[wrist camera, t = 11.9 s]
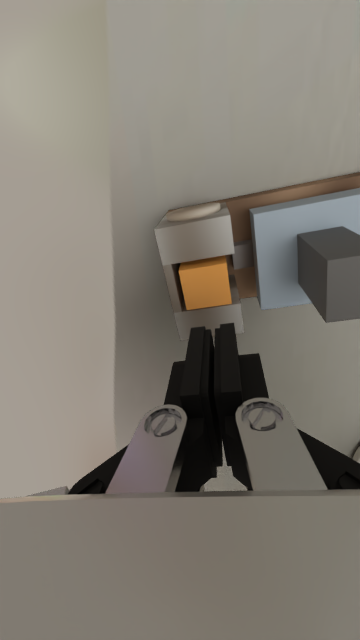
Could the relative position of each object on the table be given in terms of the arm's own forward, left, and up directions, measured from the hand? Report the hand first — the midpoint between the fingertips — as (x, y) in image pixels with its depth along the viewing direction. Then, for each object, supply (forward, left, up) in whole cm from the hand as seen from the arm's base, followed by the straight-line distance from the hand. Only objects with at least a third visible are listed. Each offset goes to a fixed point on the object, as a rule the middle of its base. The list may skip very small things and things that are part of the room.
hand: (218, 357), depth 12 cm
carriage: (-6, -1, -10) cm, 12 cm away
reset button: (0, -1, -10) cm, 10 cm away
